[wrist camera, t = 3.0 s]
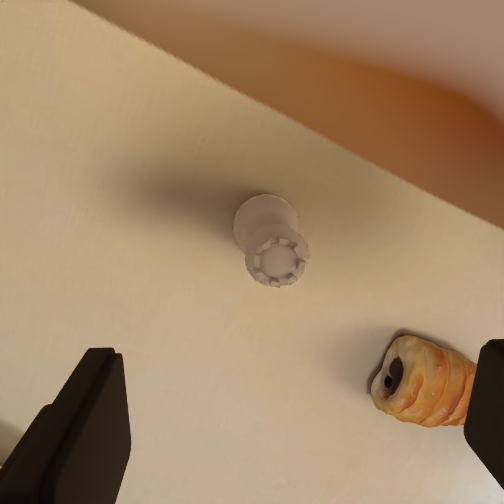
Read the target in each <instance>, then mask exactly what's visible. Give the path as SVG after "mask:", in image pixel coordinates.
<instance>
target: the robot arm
mask: <svg viewBox="0 0 504 504" xmlns="http://www.w3.org/2000/svg"><path fill="white" fill-rule="evenodd" d="M464 436H465V439H466V441H467V443H468V444H469V446H470V447H471V448H472V450H473V451H474V452H475V453H476V455H477V456H478V457H479V459H480V460H481V461H482V462H483V464H484V465H485V466H486V468H487V469H488V470H489V472H490V473H491V474H492V475H493V477H494V478H495V479H496V481H497V482H498V483H499V484H500V486H501V487H502V488H503V490H504V339H491V340H489V341H488V342H487V343H486V345H484V346H483V347H482V348H481V350H480V354H479V359H478V364H477V368H476V373H475V377H474V382H473V387H472V391H471V396H470V401H469V405H468V410H467V415H466V419H465V424H464ZM130 451H131V434H130V424H129V414H128V404H127V394H126V385H125V375H124V365H123V357H122V354H121V353H115V350H114V348H89V349H88V350H87V351H86V353H85V354H84V356H83V357H82V359H81V360H80V362H79V363H78V365H77V366H76V368H75V369H74V371H73V373H72V374H71V376H70V377H69V379H68V380H67V382H66V383H65V385H64V386H63V388H62V389H61V391H60V392H59V394H58V395H57V397H56V399H55V400H54V402H53V403H52V404H48V405H46V406H44V407H43V408H42V409H41V410H40V412H39V413H38V415H37V416H36V418H35V419H34V421H33V422H32V423H31V425H30V426H29V428H28V429H27V431H26V432H25V434H24V435H23V437H22V438H21V440H20V441H19V443H18V444H17V446H16V447H15V448H14V450H13V451H12V453H11V454H10V456H9V457H8V459H7V460H6V462H5V463H4V465H3V466H2V468H1V469H0V504H115V502H116V499H117V495H118V492H119V489H120V486H121V482H122V479H123V476H124V473H125V469H126V466H127V463H128V459H129V456H130Z"/></svg>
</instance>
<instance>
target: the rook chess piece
mask: <svg viewBox="0 0 504 504" xmlns="http://www.w3.org/2000/svg"><path fill="white" fill-rule="evenodd" d="M233 232H234V236H235V240H236V242H237V245H238V246H239V247H240V249H241V250H242V251H243V253H244V254H245V262H246V266H247V270H248V271H249V273H250V274H251V275H252V277H253V278H254V279H255V280H256V281H258V282H260V283H262V284H263V285H265V286H271V287H279V288H280V287H281V286H285V285H291V284H292V283H294V282H295V281H297V280H298V278H300V276H301V275H302V274H303V272H304V271H305V269H306V268H307V264H308V259H309V252H308V247H307V243H306V242H305V240H304V239H303V238H302V236H301V235H300V234H299V232H300V225H299V220H298V216H297V213H296V212H295V210H294V209H293V207H292V206H291V205H290V203H289V202H287V201H286V200H284V199H282V198H281V197H279V196H276V195H269V194H262V195H258V196H254V197H252V198H250V199H249V200H247V201H246V202H245V203H243V204H242V205H241V206H240V208H239V210H238V211H237V213H236V214H235V217H234V223H233Z"/></svg>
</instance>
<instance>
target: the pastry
mask: <svg viewBox="0 0 504 504" xmlns="http://www.w3.org/2000/svg"><path fill="white" fill-rule="evenodd" d="M476 368H477V365H476V364H475V363H473V362H471V361H469V360H467V359H466V358H464V357H463V356H462V354H461V353H460V352H458V351H455V350H452V349H444V348H442V347H440V346H437V345H435V344H434V343H431V342H429V341H426V340H423V339H421V338H419V337H416V336H409V335H407V336H401V337H398V338H396V339H395V341H394V342H393V343H392V345H391V347H390V349H389V350H388V351H387V353H386V357H385V359H384V362H383V367H382V370H381V371H380V372H379V373H378V374H377V376H376V377H375V379H374V381H373V383H372V385H371V396H372V399H373V402H374V404H375V406H376V407H377V408H378V409H379V410H382V411H384V412H385V413H386V414H389V415H393V416H394V417H395V418H397V419H398V420H400V421H402V422H410V423H416V424H419V425H422V426H425V427H437V426H440V425H441V426H448V425H453V426H459V425H464V424H465V419H466V415H467V410H468V405H469V401H470V396H471V391H472V387H473V382H474V377H475V373H476Z"/></svg>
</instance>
